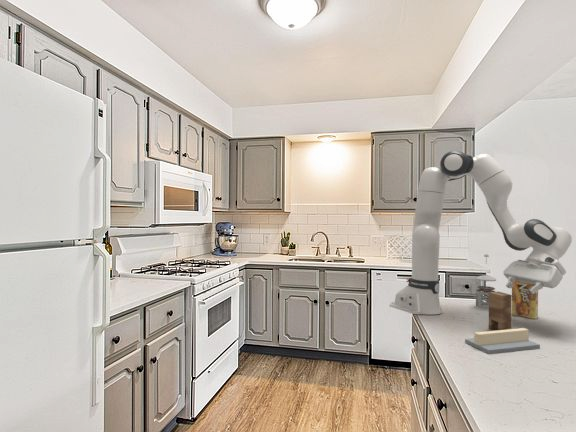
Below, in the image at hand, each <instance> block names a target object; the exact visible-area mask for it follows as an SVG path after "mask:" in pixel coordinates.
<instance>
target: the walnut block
mask: <svg viewBox="0 0 576 432" xmlns="http://www.w3.org/2000/svg"><path fill="white" fill-rule="evenodd" d="M488 296H489V312H488V331H497V330H507V329H512V294H509V293H506V292H503V291H502V292H501V291H495V292H489V295H488Z"/></svg>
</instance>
